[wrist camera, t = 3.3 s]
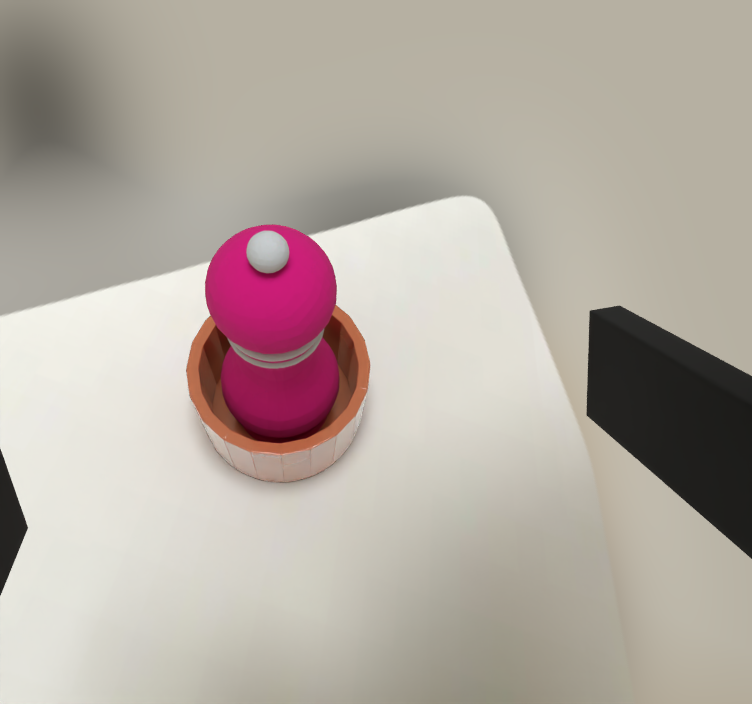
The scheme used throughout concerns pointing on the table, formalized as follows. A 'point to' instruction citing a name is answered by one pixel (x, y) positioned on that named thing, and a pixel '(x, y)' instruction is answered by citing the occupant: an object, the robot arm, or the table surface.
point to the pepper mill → (275, 331)
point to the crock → (290, 456)
